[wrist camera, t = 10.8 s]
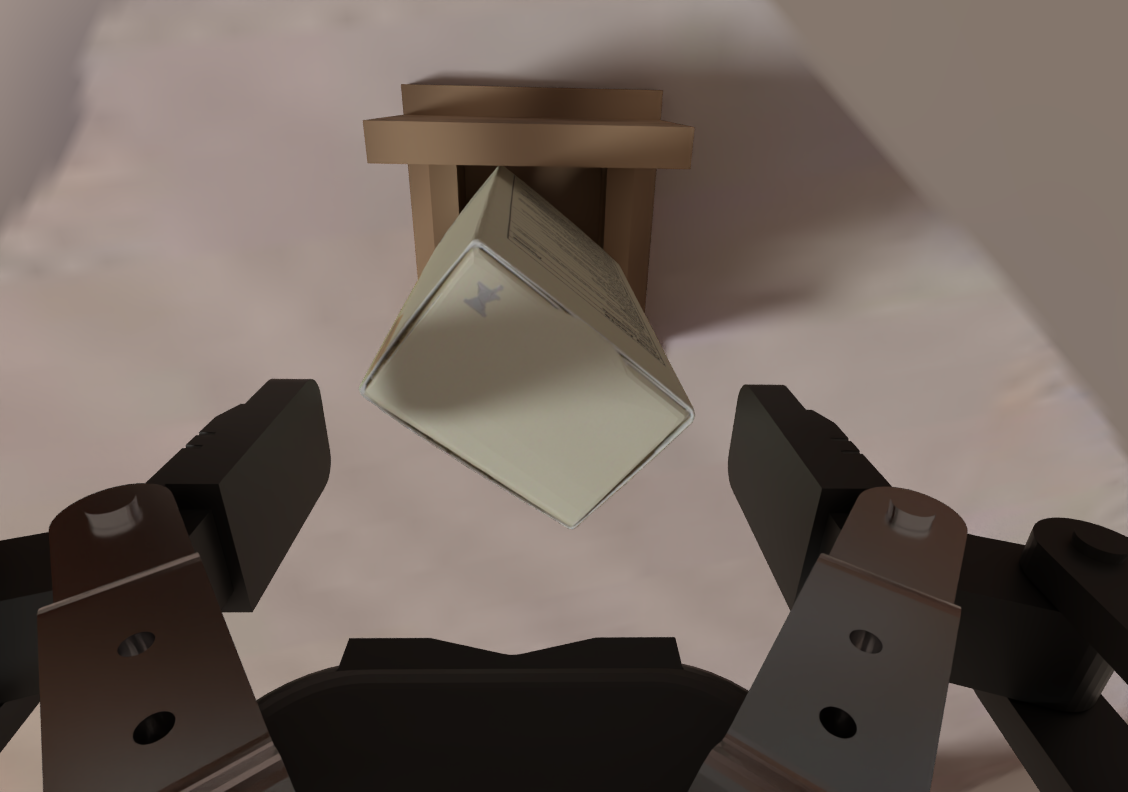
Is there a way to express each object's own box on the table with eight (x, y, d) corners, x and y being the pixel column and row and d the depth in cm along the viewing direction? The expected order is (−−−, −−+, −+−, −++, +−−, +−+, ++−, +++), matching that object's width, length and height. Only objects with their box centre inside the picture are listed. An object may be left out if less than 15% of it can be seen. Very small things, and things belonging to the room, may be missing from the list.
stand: (658, 90, 24) (698, 88, 18) (636, 366, 30) (661, 438, 23) (406, 84, 24) (358, 80, 18) (429, 365, 29) (399, 438, 23)
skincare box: (431, 250, 23) (334, 387, 12) (501, 158, 22) (461, 221, 11) (559, 350, 25) (572, 543, 14) (630, 271, 24) (704, 419, 13)
